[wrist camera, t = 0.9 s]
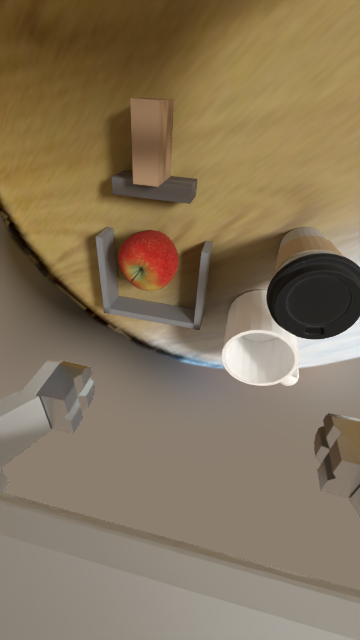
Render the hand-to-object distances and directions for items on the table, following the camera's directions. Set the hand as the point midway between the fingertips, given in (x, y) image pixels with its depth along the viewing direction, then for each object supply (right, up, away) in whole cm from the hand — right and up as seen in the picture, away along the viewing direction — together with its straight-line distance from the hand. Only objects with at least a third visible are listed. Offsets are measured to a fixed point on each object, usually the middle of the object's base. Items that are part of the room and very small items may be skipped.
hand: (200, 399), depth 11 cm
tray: (-4, +10, +38) cm, 39 cm away
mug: (+13, +3, +39) cm, 41 cm away
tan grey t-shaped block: (-3, +25, +27) cm, 36 cm away
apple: (-4, +14, +35) cm, 38 cm away
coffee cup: (+16, +13, +30) cm, 37 cm away
